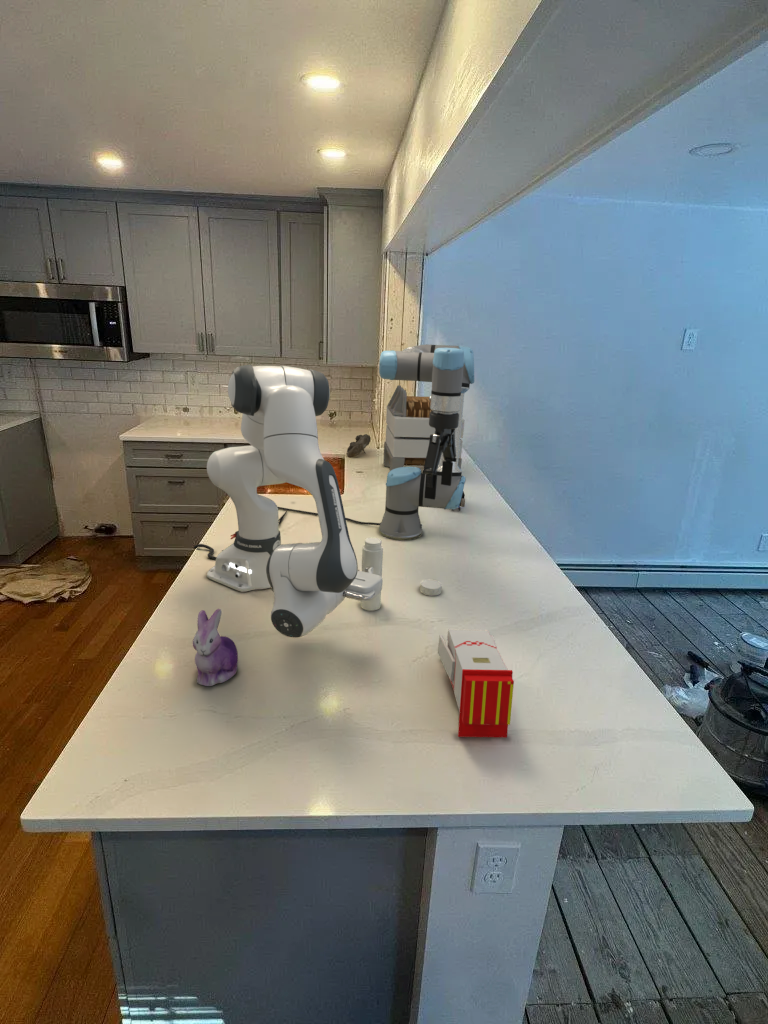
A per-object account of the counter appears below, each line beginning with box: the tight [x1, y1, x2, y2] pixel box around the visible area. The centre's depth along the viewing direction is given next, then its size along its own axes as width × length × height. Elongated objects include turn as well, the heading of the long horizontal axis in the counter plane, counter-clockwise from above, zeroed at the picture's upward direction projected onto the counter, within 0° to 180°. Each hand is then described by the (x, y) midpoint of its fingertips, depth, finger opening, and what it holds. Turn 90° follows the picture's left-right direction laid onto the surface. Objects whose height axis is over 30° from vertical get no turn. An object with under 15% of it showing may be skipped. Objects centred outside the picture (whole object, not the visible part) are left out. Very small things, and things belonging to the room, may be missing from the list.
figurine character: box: [451, 490, 466, 511], centre depth 229 cm, size 7×8×15 cm
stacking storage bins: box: [383, 384, 465, 472], centre depth 268 cm, size 34×33×41 cm
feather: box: [279, 510, 288, 526], centre depth 213 cm, size 2×28×2 cm
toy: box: [437, 628, 515, 738], centre depth 117 cm, size 12×13×30 cm
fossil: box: [346, 433, 372, 458], centre depth 305 cm, size 22×10×15 cm
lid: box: [419, 578, 443, 597], centre depth 160 cm, size 6×6×2 cm
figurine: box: [192, 608, 239, 687], centre depth 118 cm, size 9×10×15 cm
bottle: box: [360, 536, 384, 611], centre depth 148 cm, size 5×5×19 cm
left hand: (352, 565), depth 135 cm, fingers open, 8 cm apart
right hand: (438, 491), depth 151 cm, fingers open, 13 cm apart
